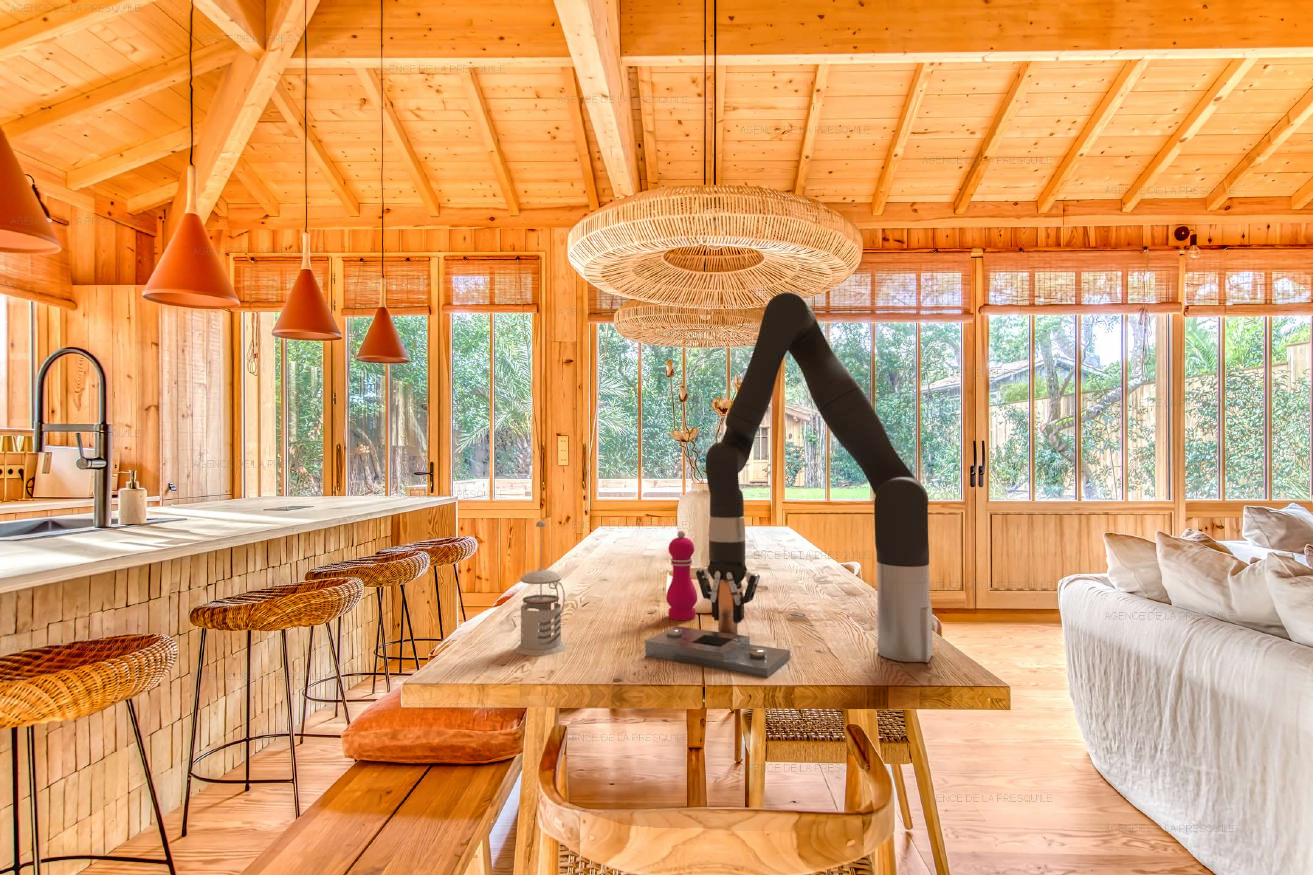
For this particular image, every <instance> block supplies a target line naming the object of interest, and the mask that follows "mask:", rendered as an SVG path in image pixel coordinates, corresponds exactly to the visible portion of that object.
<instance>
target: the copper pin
mask: <svg viewBox="0 0 1313 875" xmlns="http://www.w3.org/2000/svg"><path fill="white" fill-rule="evenodd" d="M734 605H736V604H735V601H734V597H733V594H732V593H731V589H730V585H729V581H728V580H727V579H720V581H719V587H718V621H717V626H718V627H717V628H718V629H717V630H718V631H717V632H722V633H729V634H736V635H739V634H738V632H739V630H738V629H739V628H738V625H739V623H735V621H734Z"/></svg>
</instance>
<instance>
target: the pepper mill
mask: <svg viewBox="0 0 1313 875" xmlns="http://www.w3.org/2000/svg"><path fill="white" fill-rule="evenodd" d="M677 536H678V537H675V538H673V539H672V540H671V541H670V542H669V545H668V553H669V554H670V556H671V557H672V558H670V561H671V562H670V565H671V566H672V579H671V581H670V584H669V586H668V589H667V592H666V597H665V598H666V602H667V604H668V605H669V606H670V608H668V617H669V619H671V620H673V621H674V620H675V621H690V620H693V619H695V618H696V609H695V608H694V606H695V605H696V603H697V602H698V593H697V590H696V587H695V585H694V582H693V580H692V577H691V566H692V565H693V558H692V556H693V554H694V552H695V544H694V543H693V541H692V540H691V539H689V538H687V537H686V532H685V531H683V530H679V531H678V532H677Z"/></svg>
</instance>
